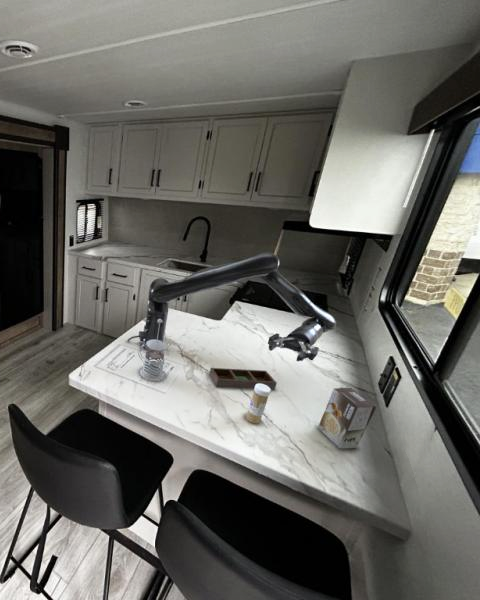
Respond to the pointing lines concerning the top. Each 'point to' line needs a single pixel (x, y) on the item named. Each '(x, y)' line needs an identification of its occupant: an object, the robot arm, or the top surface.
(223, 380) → the tray
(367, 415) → the coffee box
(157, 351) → the french press
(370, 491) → the top surface
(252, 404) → the brown spice jar
